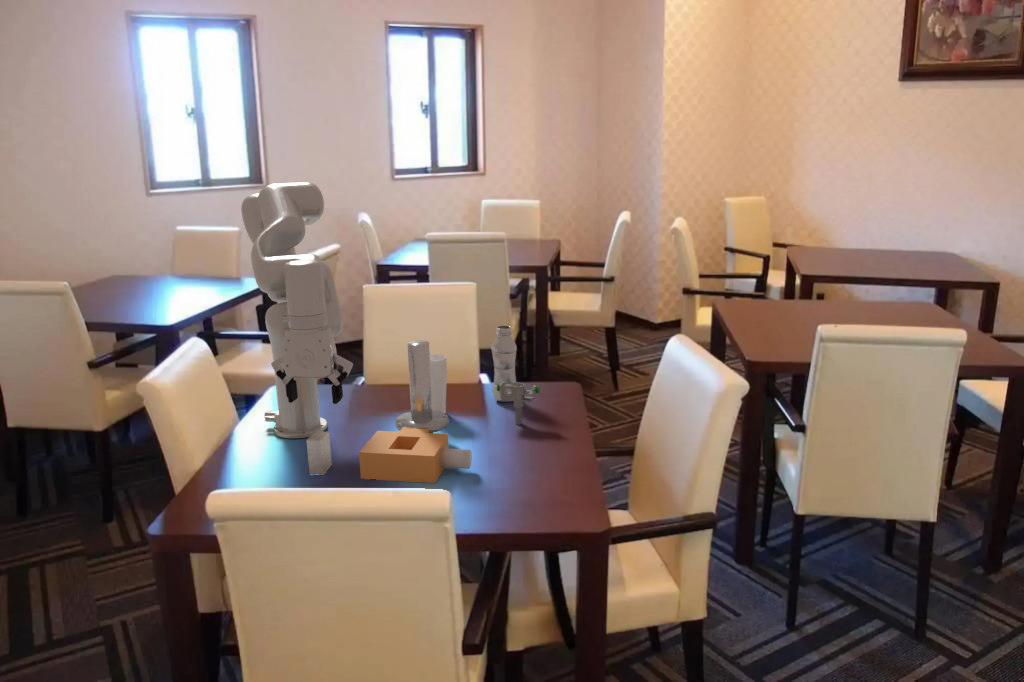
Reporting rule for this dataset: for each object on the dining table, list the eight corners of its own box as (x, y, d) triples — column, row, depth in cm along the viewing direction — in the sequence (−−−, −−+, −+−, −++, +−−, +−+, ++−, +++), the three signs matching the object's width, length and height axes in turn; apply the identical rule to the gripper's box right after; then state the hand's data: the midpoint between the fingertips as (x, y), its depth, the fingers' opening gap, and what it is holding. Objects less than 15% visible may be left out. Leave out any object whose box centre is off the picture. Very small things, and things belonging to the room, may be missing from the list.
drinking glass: (427, 420, 200) (425, 362, 196) (417, 412, 205) (415, 356, 201) (452, 415, 203) (450, 358, 199) (442, 407, 208) (440, 352, 204)
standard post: (390, 452, 181) (384, 350, 174) (405, 432, 192) (400, 335, 186) (442, 455, 179) (437, 351, 173) (454, 434, 190) (450, 337, 184)
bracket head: (360, 478, 168) (358, 452, 166) (383, 450, 182) (381, 425, 181) (464, 484, 164) (463, 457, 163) (478, 455, 179) (477, 429, 177)
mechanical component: (538, 426, 194) (538, 387, 192) (497, 424, 196) (496, 385, 194) (540, 422, 197) (540, 383, 195) (499, 420, 199) (498, 381, 197)
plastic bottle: (518, 404, 210) (516, 330, 204) (492, 404, 210) (490, 330, 205) (518, 396, 216) (517, 324, 211) (493, 396, 216) (491, 324, 211)
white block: (309, 475, 170) (306, 440, 168) (318, 465, 175) (315, 431, 173) (323, 476, 170) (320, 440, 168) (331, 466, 174) (329, 431, 172)
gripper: (259, 325, 161) (268, 406, 165) (341, 326, 158) (348, 408, 163) (276, 316, 168) (283, 394, 173) (355, 317, 166) (361, 396, 170)
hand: (315, 401), depth 168 cm, fingers open, 9 cm apart
